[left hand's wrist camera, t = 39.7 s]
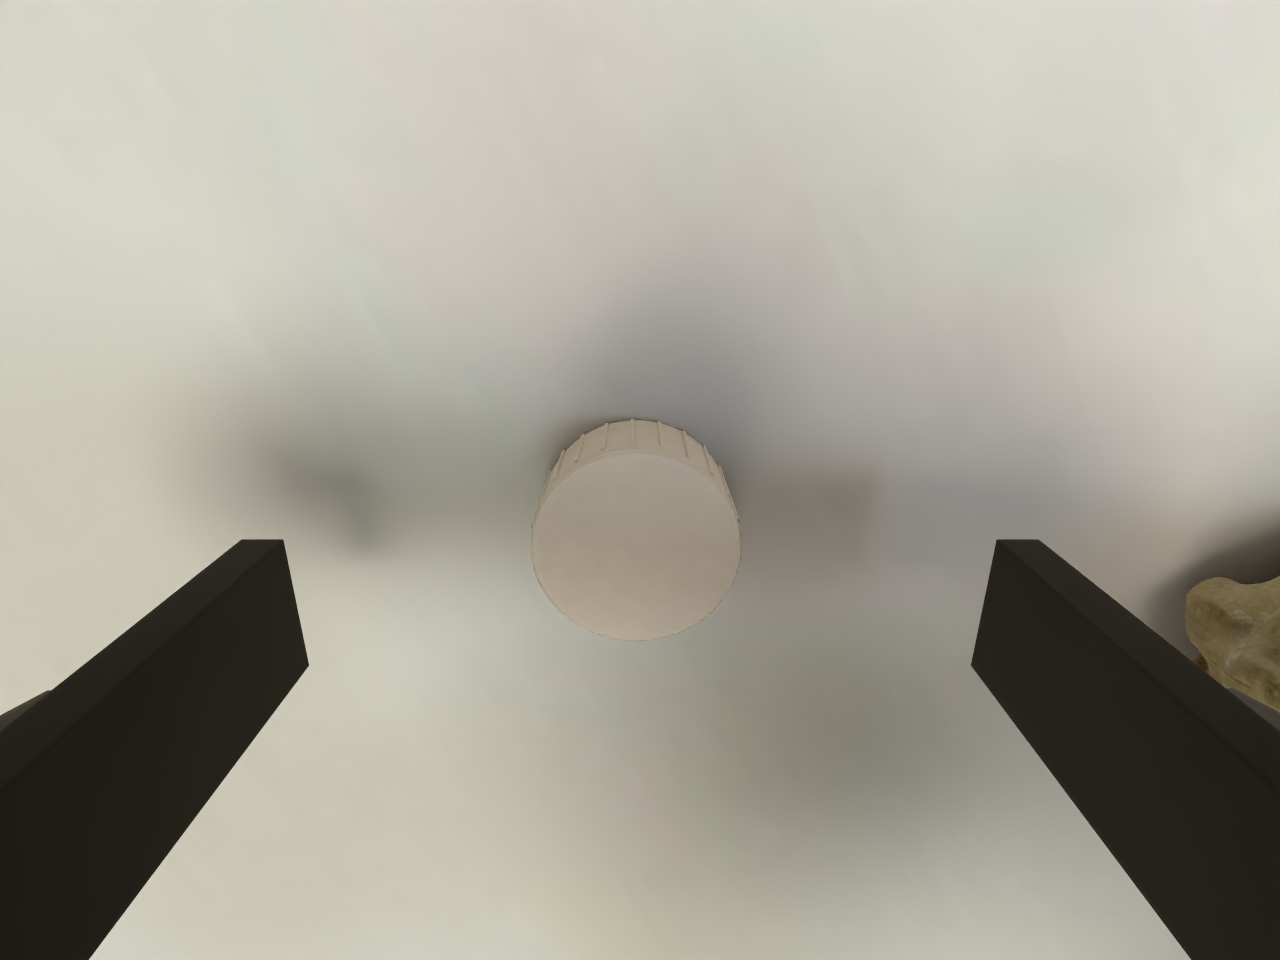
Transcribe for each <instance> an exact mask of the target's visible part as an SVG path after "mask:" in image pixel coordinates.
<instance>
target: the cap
mask: <svg viewBox="0 0 1280 960" xmlns="http://www.w3.org/2000/svg"><path fill="white" fill-rule="evenodd" d="M538 503H539V505H538V508H537V511H536V514H535V517H534V520H533V523H532V527H531V528H533V530H532V538H531V557H532V562H533V567H534V571H535V574H536V576H537V579H538V582H539V584H540V585H541V587H542V589H543V591H544V593H545V594H546V596H547V597H548V598H549V600H550V601H551V602H552V604H553V605H554V606H555V607H556V608H557V609H558V610H559V611H560V612H561V613H562V614H563V615H565V616H566V617H567V618H568V619H569V620H571V621H573V622H574V623H576V624H577V625H579V626H580V627H582V628H584V629H586V630H588V631H590V632H593V633H596V634H599V635H601V636H605V637H609V638H613V639H619V640H627V641H644V640H654V639H659V638H663V637H667V636H670V635H673V634H676V633H679V632H681V631H684V630H686V629H688V628H690V627H692V626H693V625H695V624H696V623H698V622H700V621H701V620H703V619H704V618H705V617H706V616H707V615H709V614H710V613H711V612H712V611H713V610H714V609H715V608H716V607H717V606H718V605H719V604H720V602H721V601H722V600H723V598H724V597H725V596H726V594H727V593H728V591H729V589H730V587H731V586H732V584H733V582H734V579H735V576H736V574H737V571H738V567H739V562H740V556H741V537H740V531H739V526H738V522H740V520H739V517H738V514H737V511H736V508H735V505H734V502H733V499H732V496H731V493H730V490H729V487H728V486H727V483H726V480H725V477H724V474H723V471H722V468H721V466H720V465H718V466H717V464H716V462H715V461H714V459H713V458H712V457H711V455H710V454H709V453H708V451H707V447H706V446H705V445H704V446H702V445H701V444H700V443H698V442H697V441H696V440H694V439H693V438H692V437H691V436H689V435H687V434H686V431H684V430H683V431H680V430H678V429H676V428H673V427H671V426H669V425H665V424H662V422H661V421H658V422H652V421H645V420H635V419H631V420H628V421H619V422H615V423H611V424H608V423H605V424H604V426H602V427H599V428H596V429H594V430H592V431H590V432H589V433H587V434H584V433H583V434H581V436H580V438H579V439H578V440H576V441H575V442H574V443H573V444H572V445H571V446H570V447H569V448H568V449H567V450H566V451H565V450H563V451H562V452H561V455H560V458H559V460H558V461H557V463H556V465H555V466H554V468H553V470H552V471H551V470H550V471H549V473H548V476H547V478H546V481H545V484H544V487H543V490H542V493H541V496H540V499H539V502H538Z"/></svg>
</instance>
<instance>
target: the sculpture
mask: <svg viewBox="0 0 1280 960" xmlns="http://www.w3.org/2000/svg"><path fill="white" fill-rule="evenodd" d="M1185 630H1186V634H1187V637H1188V639H1189V641H1190V642H1191V643H1192V644H1193V645H1194V646H1195V647H1196V648H1197V649H1198V651H1199V652H1200V653H1201V654H1200V655H1199V656H1198V657H1197V658H1196V659H1195V660H1194V661H1193V663H1194V664H1196V665H1197V666H1198V667H1200V668H1201V669H1202V670H1203V671H1205V672H1206V673H1207V674H1208V675H1210V676H1211V677H1212V678H1213V679H1215V680H1216V681H1217V682H1218V683H1220V684H1221V685H1222V686H1223V687H1225V688H1234V689H1236V690H1238V691H1240V692H1242V693H1244V694H1246V695H1247V696H1249V697H1251V698H1253V699H1255V700H1257V701H1259V702H1261V703H1263V704H1265V705H1266V706H1268V707H1270V708H1272V709H1274V710H1276V711H1278V712H1280V576H1278V577H1277V578H1275V579H1272V580H1270V581H1267V582H1263V583H1256V584H1246V585H1244V584H1240V583H1238V582H1236V581H1234V580H1231V579H1229V578H1225V577H1213V578H1210V579H1206V580H1203V581H1202V582H1200V583H1198V584H1196V585H1195V586H1194V587H1192V588H1191V589H1190V590H1189V592H1188V593H1187V595H1186V607H1185Z"/></svg>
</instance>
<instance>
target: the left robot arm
mask: <svg viewBox="0 0 1280 960" xmlns="http://www.w3.org/2000/svg"><path fill="white" fill-rule="evenodd" d="M308 666H309V663H308V658H307V653H306V648H305V644H304V639H303V634H302V629H301V624H300V619H299V614H298V609H297V604H296V599H295V595H294V590H293V585H292V580H291V575H290V570H289V565H288V560H287V555H286V550H285V546H284V541H283V540H240V541H239V542H238V543H237V544H235V545H234V546H233V547H232V548H230V549H229V550H228V551H227V552H225V553H224V554H223V555H222V556H220V557H219V558H218V559H217V560H215V561H214V562H213V563H211V564H210V565H209V566H208V567H206V568H205V569H204V570H203V571H201V572H200V573H199V574H198V575H196V576H195V577H194V578H193V579H191V580H190V581H189V582H188V583H186V584H185V585H184V586H183V587H181V588H180V589H179V590H177V591H176V592H175V593H174V594H172V595H171V596H170V597H169V598H167V599H166V600H165V601H164V602H162V603H161V604H160V605H159V606H157V607H156V608H155V609H154V610H152V611H151V612H150V613H148V614H147V615H146V616H145V617H143V618H142V619H141V620H140V621H138V622H137V623H136V624H135V625H133V626H132V627H131V628H130V629H128V630H127V631H126V632H125V633H123V634H122V635H121V636H120V637H118V638H117V639H116V640H114V641H113V642H112V643H111V644H109V645H108V646H107V647H106V648H104V649H103V650H102V651H101V652H99V653H98V654H97V655H96V656H94V657H93V658H92V659H91V660H89V661H88V662H87V663H86V664H84V665H83V666H82V667H80V668H79V669H78V670H77V671H75V672H74V673H73V674H72V675H70V676H69V677H68V678H67V679H65V680H64V681H63V682H62V683H60V684H59V685H58V686H57V687H55V688H54V689H53V690H51V691H46V692H44V693H42V694H40V695H38V696H36V697H34V698H32V699H31V700H29V701H27V702H25V703H23V704H21V705H19V706H17V707H15V708H14V709H12V710H10V711H8V712H6V713H4V714H2V715H0V960H89V959H90V957H91V956H92V955H93V953H94V952H95V951H96V949H97V948H98V947H99V945H100V944H101V943H102V941H103V940H104V939H105V937H106V936H107V935H108V933H109V932H110V931H111V929H112V928H113V927H114V925H115V924H116V923H117V921H118V920H119V919H120V917H121V916H122V914H123V913H124V912H125V910H126V909H127V908H128V906H129V905H130V904H131V902H132V901H133V900H134V898H135V897H136V896H137V894H138V893H139V892H140V890H141V889H142V888H143V886H144V885H145V884H146V882H147V881H148V880H149V878H150V877H151V876H152V874H153V873H154V872H155V870H156V869H157V868H158V866H159V865H160V864H161V862H162V861H163V860H164V858H165V857H166V856H167V854H168V853H169V852H170V850H171V849H172V848H173V846H174V845H175V844H176V842H177V841H178V840H179V838H180V837H181V836H182V834H183V833H184V832H185V830H186V829H187V828H188V826H189V825H190V824H191V822H192V821H193V820H194V818H195V817H196V816H197V814H198V813H199V812H200V810H201V809H202V808H203V806H204V805H205V804H206V802H207V801H208V800H209V798H210V797H211V796H212V794H213V793H214V792H215V790H216V789H217V788H218V786H219V785H220V784H221V782H222V781H223V780H224V778H225V777H226V776H227V774H228V773H229V772H230V770H231V769H232V768H233V766H234V765H235V764H236V762H237V761H238V760H239V758H240V757H241V756H242V754H243V753H244V752H245V750H246V749H247V748H248V746H249V745H250V744H251V742H252V741H253V740H254V738H255V737H256V736H257V734H258V733H259V732H260V730H261V729H262V728H263V726H264V725H265V723H266V722H267V721H268V719H269V718H270V717H271V715H272V714H273V713H274V711H275V710H276V709H277V707H278V706H279V705H280V703H281V702H282V701H283V699H284V698H285V697H286V695H287V694H288V693H289V691H290V690H291V689H292V687H293V686H294V685H295V683H296V682H297V681H298V679H299V678H300V677H301V675H302V674H303V673H304V671H305V670H306V669H307V667H308ZM971 666H972V667H973V669H974V670H975V671H976V673H977V674H978V675H979V677H980V678H981V679H982V681H983V682H984V683H985V685H986V686H987V687H988V689H989V690H990V691H991V693H992V694H993V695H994V697H995V698H996V699H997V701H998V702H999V703H1000V705H1001V706H1002V707H1003V709H1004V710H1005V711H1006V713H1007V714H1008V715H1009V717H1010V718H1011V719H1012V721H1013V722H1014V724H1015V725H1016V726H1017V728H1018V729H1019V730H1020V732H1021V733H1022V734H1023V736H1024V737H1025V738H1026V740H1027V741H1028V742H1029V744H1030V745H1031V746H1032V748H1033V749H1034V750H1035V752H1036V753H1037V754H1038V756H1039V757H1040V758H1041V760H1042V761H1043V762H1044V764H1045V765H1046V766H1047V768H1048V769H1049V770H1050V772H1051V773H1052V774H1053V776H1054V777H1055V778H1056V780H1057V781H1058V782H1059V784H1060V785H1061V786H1062V788H1063V789H1064V790H1065V792H1066V793H1067V794H1068V796H1069V797H1070V798H1071V800H1072V801H1073V802H1074V804H1075V805H1076V806H1077V808H1078V809H1079V810H1080V812H1081V813H1082V814H1083V816H1084V817H1085V818H1086V820H1087V821H1088V822H1089V824H1090V825H1091V826H1092V828H1093V829H1094V830H1095V832H1096V833H1097V834H1098V836H1099V837H1100V838H1101V840H1102V841H1103V842H1104V844H1105V845H1106V846H1107V848H1108V849H1109V850H1110V852H1111V853H1112V854H1113V856H1114V857H1115V858H1116V860H1117V861H1118V862H1119V864H1120V865H1121V866H1122V868H1123V869H1124V870H1125V872H1126V873H1127V874H1128V876H1129V877H1130V878H1131V880H1132V881H1133V882H1134V884H1135V885H1136V886H1137V888H1138V889H1139V890H1140V892H1141V893H1142V894H1143V896H1144V897H1145V898H1146V900H1147V901H1148V902H1149V904H1150V905H1151V906H1152V908H1153V909H1154V910H1155V912H1156V913H1157V914H1158V916H1159V917H1160V919H1161V920H1162V921H1163V923H1164V924H1165V925H1166V927H1167V928H1168V929H1169V931H1170V932H1171V933H1172V935H1173V936H1174V937H1175V939H1176V940H1177V941H1178V943H1179V944H1180V945H1181V947H1182V948H1183V949H1184V951H1185V952H1186V953H1187V955H1188V956H1189V957H1190V959H1191V960H1280V712H1278V711H1276V710H1274V709H1272V708H1270V707H1268V706H1266V705H1265V704H1263V703H1261V702H1259V701H1257V700H1255V699H1253V698H1251V697H1249V696H1247V695H1246V694H1244V693H1242V692H1240V691H1238V690H1236V689H1234V688H1225V687H1223V686H1222V685H1221V684H1220V683H1218V682H1217V681H1216V680H1215V679H1213V678H1212V677H1211V676H1210V675H1208V674H1207V673H1206V672H1205V671H1203V670H1202V669H1201V668H1200V667H1198V666H1197V665H1196V664H1194V663H1193V662H1192V661H1191V660H1189V659H1188V658H1187V657H1186V656H1184V655H1183V654H1182V653H1181V652H1179V651H1178V650H1177V649H1176V648H1174V647H1173V646H1172V645H1171V644H1169V643H1168V642H1167V641H1166V640H1164V639H1163V638H1162V637H1160V636H1159V635H1158V634H1157V633H1155V632H1154V631H1153V630H1152V629H1150V628H1149V627H1148V626H1147V625H1145V624H1144V623H1143V622H1142V621H1140V620H1139V619H1138V618H1137V617H1135V616H1134V615H1133V614H1132V613H1130V612H1129V611H1128V610H1126V609H1125V608H1124V607H1123V606H1121V605H1120V604H1119V603H1118V602H1116V601H1115V600H1114V599H1113V598H1111V597H1110V596H1109V595H1108V594H1106V593H1105V592H1104V591H1103V590H1101V589H1100V588H1099V587H1097V586H1096V585H1095V584H1094V583H1092V582H1091V581H1090V580H1089V579H1087V578H1086V577H1085V576H1084V575H1082V574H1081V573H1080V572H1079V571H1077V570H1076V569H1075V568H1074V567H1072V566H1071V565H1070V564H1069V563H1067V562H1066V561H1065V560H1063V559H1062V558H1061V557H1060V556H1058V555H1057V554H1056V553H1055V552H1053V551H1052V550H1051V549H1050V548H1048V547H1047V546H1046V545H1045V544H1043V543H1042V542H1041V541H1040V540H997V541H996V546H995V550H994V555H993V560H992V565H991V570H990V575H989V580H988V585H987V590H986V595H985V599H984V604H983V609H982V614H981V619H980V624H979V629H978V634H977V639H976V644H975V648H974V653H973V658H972V663H971Z"/></svg>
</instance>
